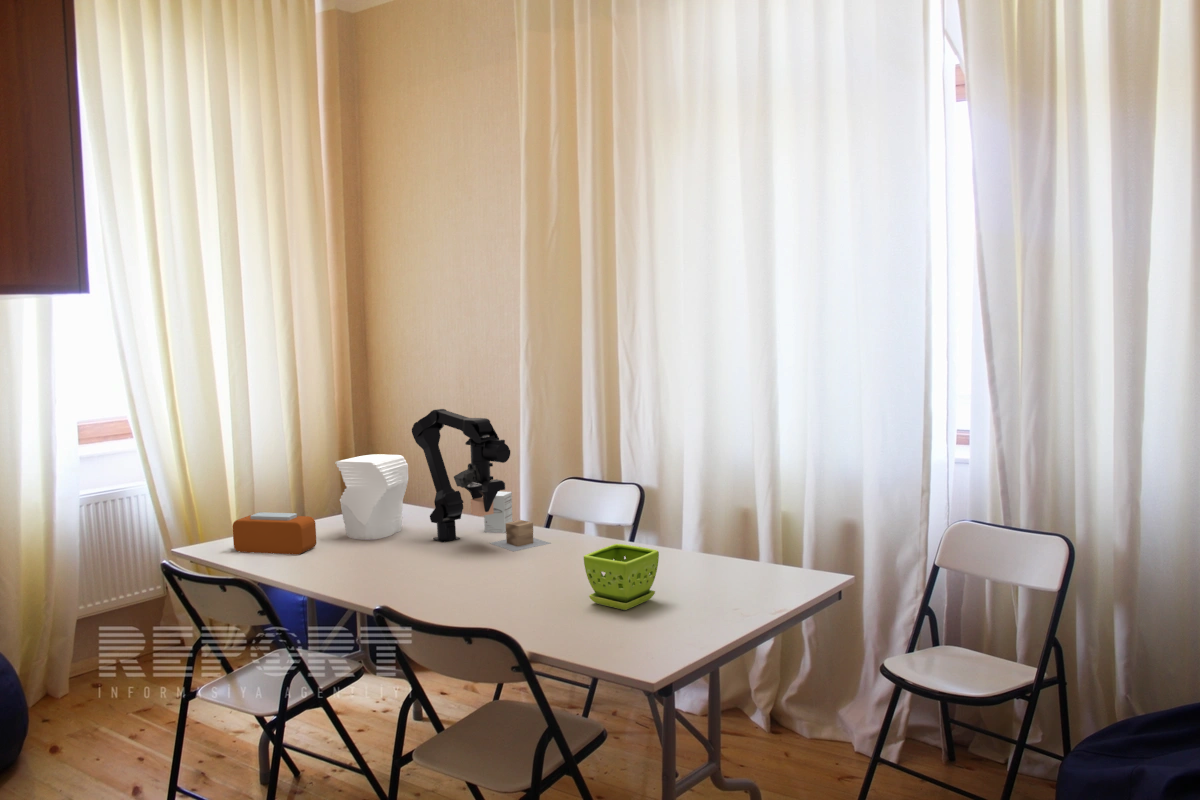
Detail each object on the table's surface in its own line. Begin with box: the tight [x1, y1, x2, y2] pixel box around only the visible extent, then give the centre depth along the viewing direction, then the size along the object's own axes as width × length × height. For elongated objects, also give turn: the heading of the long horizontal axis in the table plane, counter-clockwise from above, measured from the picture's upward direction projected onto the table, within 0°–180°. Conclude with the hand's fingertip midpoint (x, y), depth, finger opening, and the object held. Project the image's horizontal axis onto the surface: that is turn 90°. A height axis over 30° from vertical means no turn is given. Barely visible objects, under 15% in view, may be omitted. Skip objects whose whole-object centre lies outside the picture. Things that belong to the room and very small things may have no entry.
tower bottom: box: [505, 532, 534, 547], centre depth 289 cm, size 6×6×3 cm
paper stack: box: [334, 453, 410, 541], centre depth 306 cm, size 21×27×26 cm
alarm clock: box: [232, 511, 317, 556], centre depth 289 cm, size 24×8×11 cm, turn 76°
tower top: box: [505, 519, 534, 536], centre depth 289 cm, size 6×6×3 cm
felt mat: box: [489, 537, 552, 552], centre depth 289 cm, size 14×14×1 cm
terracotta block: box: [470, 496, 494, 517], centre depth 285 cm, size 5×5×4 cm
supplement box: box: [483, 490, 513, 534], centre depth 307 cm, size 7×7×13 cm
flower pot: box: [583, 543, 660, 611], centre depth 228 cm, size 14×14×13 cm
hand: (482, 510), depth 285 cm, fingers closed on terracotta block, 5 cm apart
